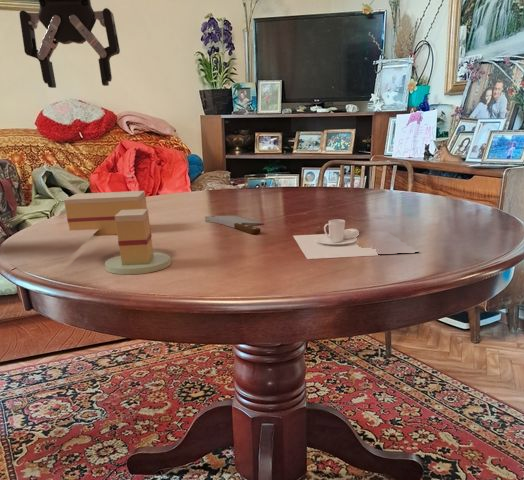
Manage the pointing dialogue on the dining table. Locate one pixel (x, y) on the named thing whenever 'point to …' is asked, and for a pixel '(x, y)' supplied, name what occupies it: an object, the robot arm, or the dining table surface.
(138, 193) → the cake
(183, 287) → the dining table surface
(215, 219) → the kitchen cleaver
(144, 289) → the dining table surface
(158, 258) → the plate
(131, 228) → the cake slice
